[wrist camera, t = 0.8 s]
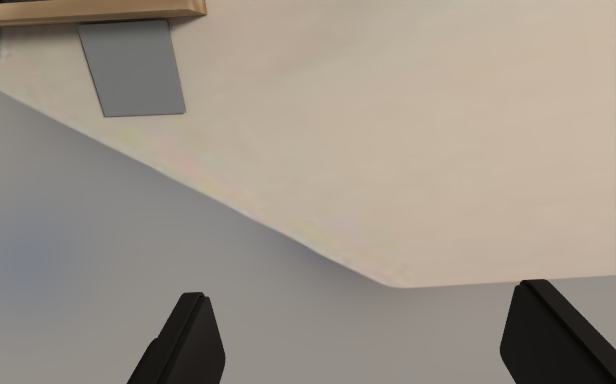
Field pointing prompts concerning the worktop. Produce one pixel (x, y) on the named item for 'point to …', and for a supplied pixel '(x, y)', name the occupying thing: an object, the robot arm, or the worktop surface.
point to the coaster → (133, 67)
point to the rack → (94, 11)
